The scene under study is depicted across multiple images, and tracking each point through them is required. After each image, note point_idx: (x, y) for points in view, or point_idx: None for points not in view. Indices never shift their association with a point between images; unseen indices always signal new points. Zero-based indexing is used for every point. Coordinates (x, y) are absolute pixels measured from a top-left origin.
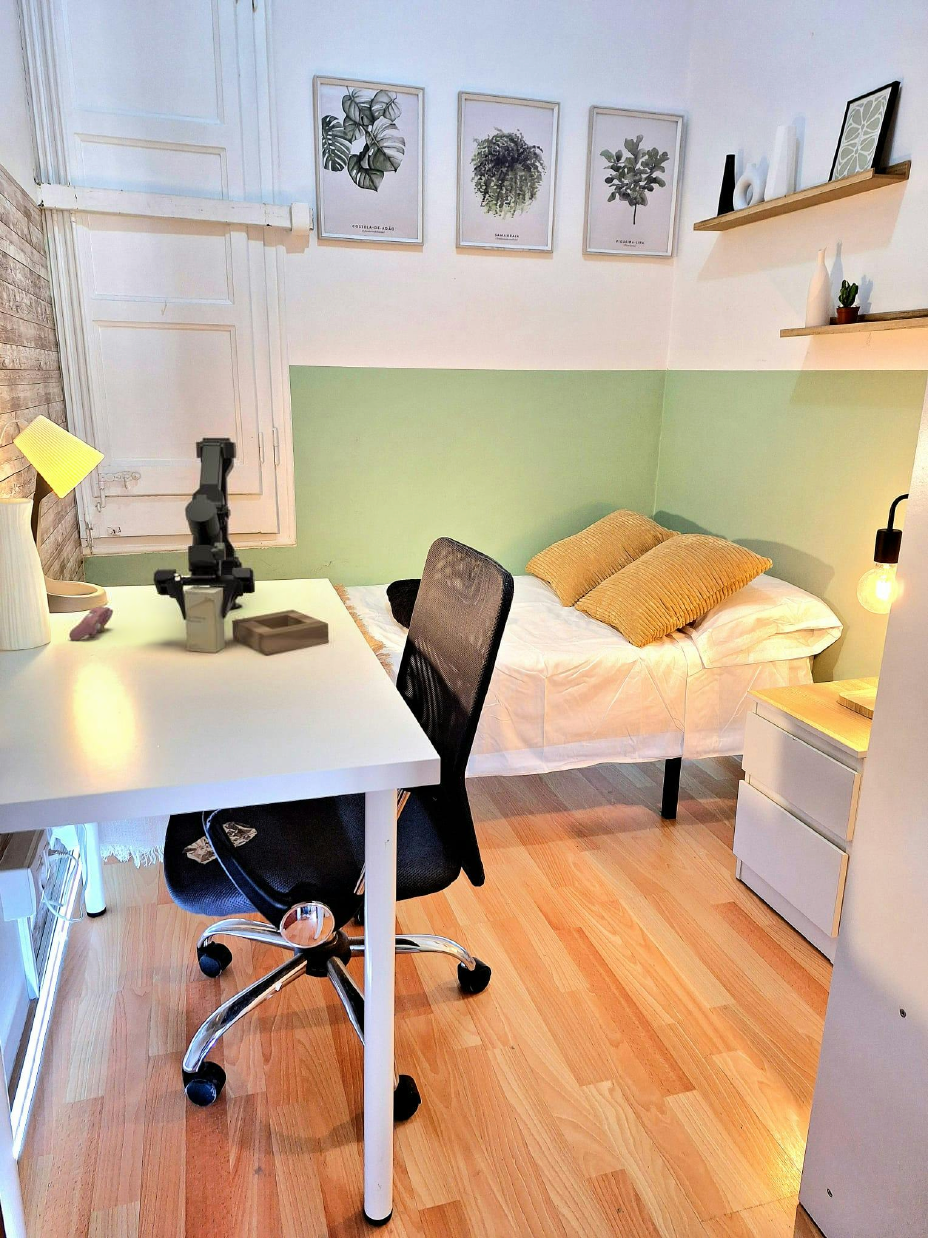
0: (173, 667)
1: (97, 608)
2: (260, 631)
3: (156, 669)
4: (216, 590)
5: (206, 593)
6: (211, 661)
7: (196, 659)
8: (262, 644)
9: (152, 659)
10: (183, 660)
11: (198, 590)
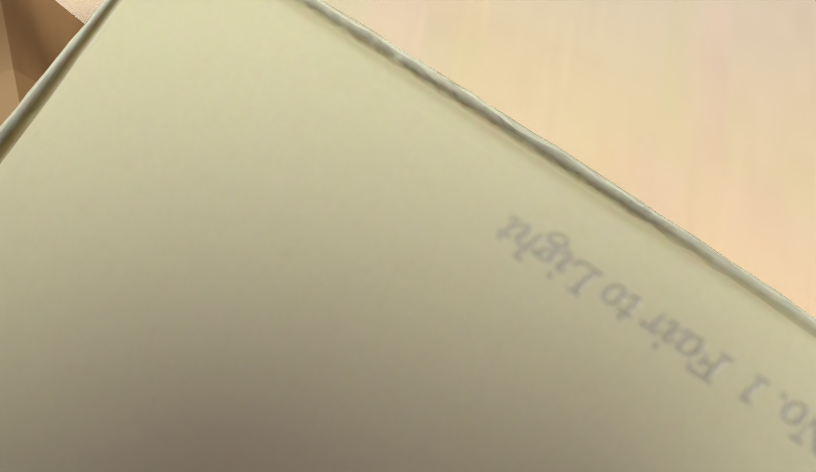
0: (681, 11)
1: None
2: None
3: (787, 10)
4: (42, 116)
5: (341, 29)
6: (437, 45)
7: (521, 121)
8: (62, 48)
9: (806, 232)
10: (605, 131)
11: (513, 278)
